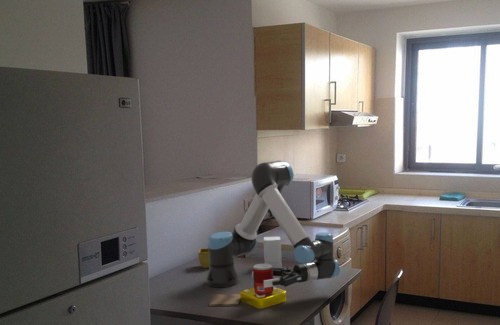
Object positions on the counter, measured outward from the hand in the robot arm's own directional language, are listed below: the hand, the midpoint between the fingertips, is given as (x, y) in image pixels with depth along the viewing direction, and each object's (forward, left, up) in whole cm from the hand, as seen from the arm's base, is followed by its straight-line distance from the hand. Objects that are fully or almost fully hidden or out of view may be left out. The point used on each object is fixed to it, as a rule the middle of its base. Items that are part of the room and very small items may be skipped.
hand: (257, 279), depth 196 cm
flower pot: (-32, +58, -11) cm, 67 cm away
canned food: (+2, +3, -6) cm, 7 cm away
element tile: (+1, +6, -11) cm, 13 cm away
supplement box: (+3, +57, -11) cm, 58 cm away
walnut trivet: (-15, +5, -11) cm, 19 cm away
